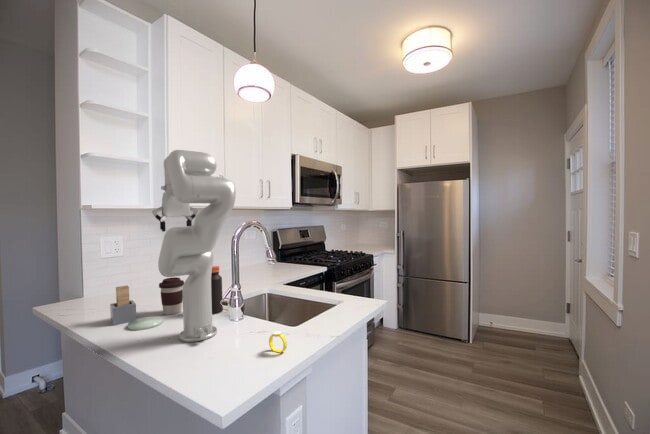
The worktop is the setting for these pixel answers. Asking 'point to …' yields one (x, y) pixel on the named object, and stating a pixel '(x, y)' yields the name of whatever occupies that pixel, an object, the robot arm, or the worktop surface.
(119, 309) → the gray open square box
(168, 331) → the worktop surface
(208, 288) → the robot arm
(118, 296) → the oak peg
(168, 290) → the coffee cup
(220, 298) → the bottle
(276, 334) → the yellow ring
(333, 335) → the worktop surface
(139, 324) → the mint green dome
